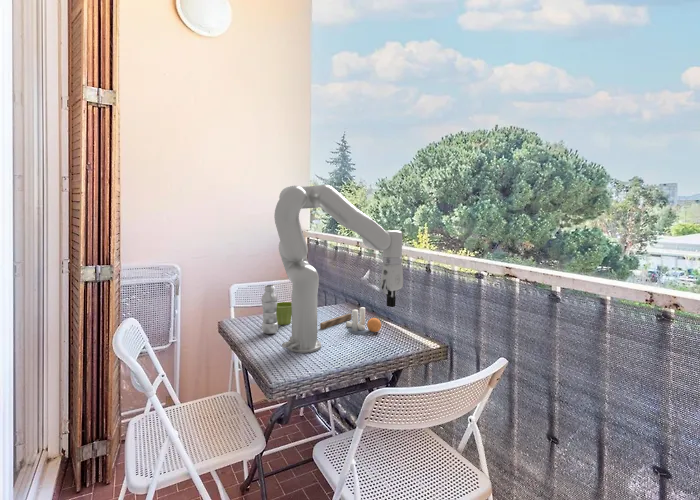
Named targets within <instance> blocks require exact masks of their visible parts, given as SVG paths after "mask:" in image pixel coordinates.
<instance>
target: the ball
mask: <svg viewBox="0 0 700 500" xmlns="http://www.w3.org/2000/svg"><path fill="white" fill-rule="evenodd" d="M381 322H382V321H381V320H380V319H379V318H378V317H377V318H376V317H372V318H370V319H369V320H368V321H367V324H366V326H367V327H368V329H369V330H370V331H371V332H375V333H378V332H379V331H380V330H381V329H382V323H381Z"/></svg>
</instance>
